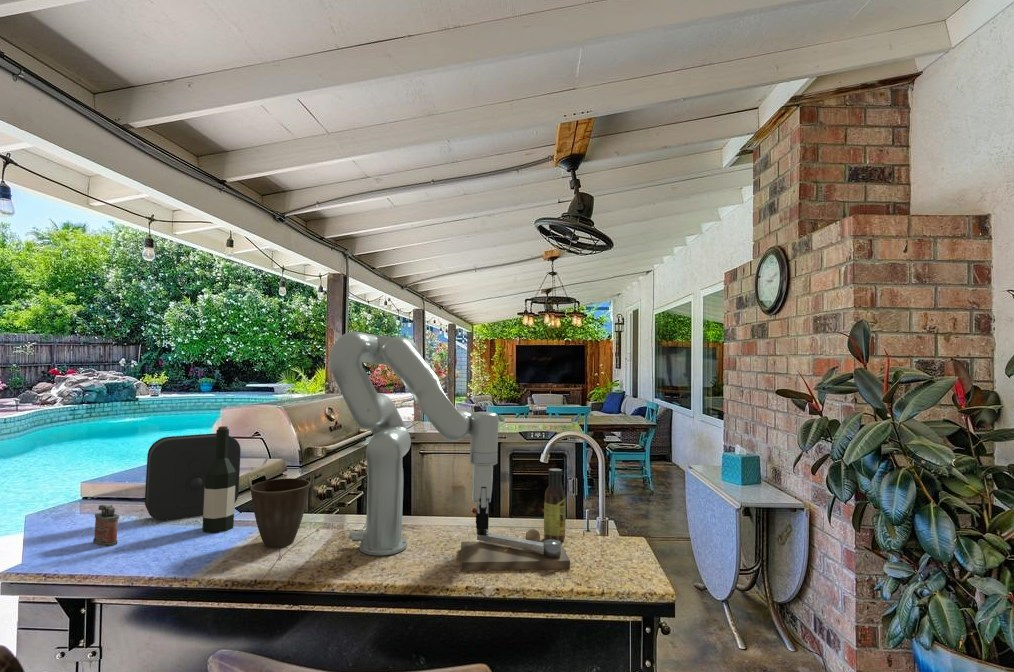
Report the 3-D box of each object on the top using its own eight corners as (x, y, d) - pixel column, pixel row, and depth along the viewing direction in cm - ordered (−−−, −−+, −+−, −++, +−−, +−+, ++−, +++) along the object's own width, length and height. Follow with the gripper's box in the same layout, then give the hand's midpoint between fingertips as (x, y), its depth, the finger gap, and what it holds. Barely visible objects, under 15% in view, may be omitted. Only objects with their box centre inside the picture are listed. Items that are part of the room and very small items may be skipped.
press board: (460, 570, 121) (461, 545, 121) (461, 549, 135) (461, 526, 135) (570, 568, 123) (570, 544, 124) (559, 547, 137) (559, 525, 137)
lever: (563, 553, 127) (563, 514, 128) (557, 559, 123) (557, 519, 124) (480, 537, 137) (481, 502, 138) (473, 542, 133) (473, 506, 134)
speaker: (232, 504, 172) (236, 431, 173) (238, 510, 165) (242, 434, 167) (143, 518, 155) (148, 437, 157) (146, 525, 149) (151, 441, 150)
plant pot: (284, 556, 127) (287, 493, 128) (234, 550, 131) (237, 489, 132) (318, 537, 142) (320, 480, 143) (273, 532, 145) (275, 476, 146)
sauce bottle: (564, 543, 140) (565, 472, 141) (542, 541, 142) (543, 471, 143) (566, 536, 147) (567, 468, 148) (545, 534, 148) (546, 466, 149)
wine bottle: (239, 527, 149) (244, 426, 150) (210, 535, 142) (216, 429, 143) (224, 522, 153) (229, 424, 155) (195, 529, 146) (201, 427, 148)
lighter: (120, 543, 134) (123, 506, 135) (106, 547, 131) (108, 509, 132) (104, 538, 138) (106, 502, 138) (89, 542, 135) (92, 505, 135)
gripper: (469, 452, 143) (467, 516, 142) (470, 463, 127) (468, 536, 126) (495, 452, 144) (493, 516, 143) (499, 463, 128) (497, 536, 127)
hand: (481, 525), depth 135 cm, fingers closed on lever, 3 cm apart
